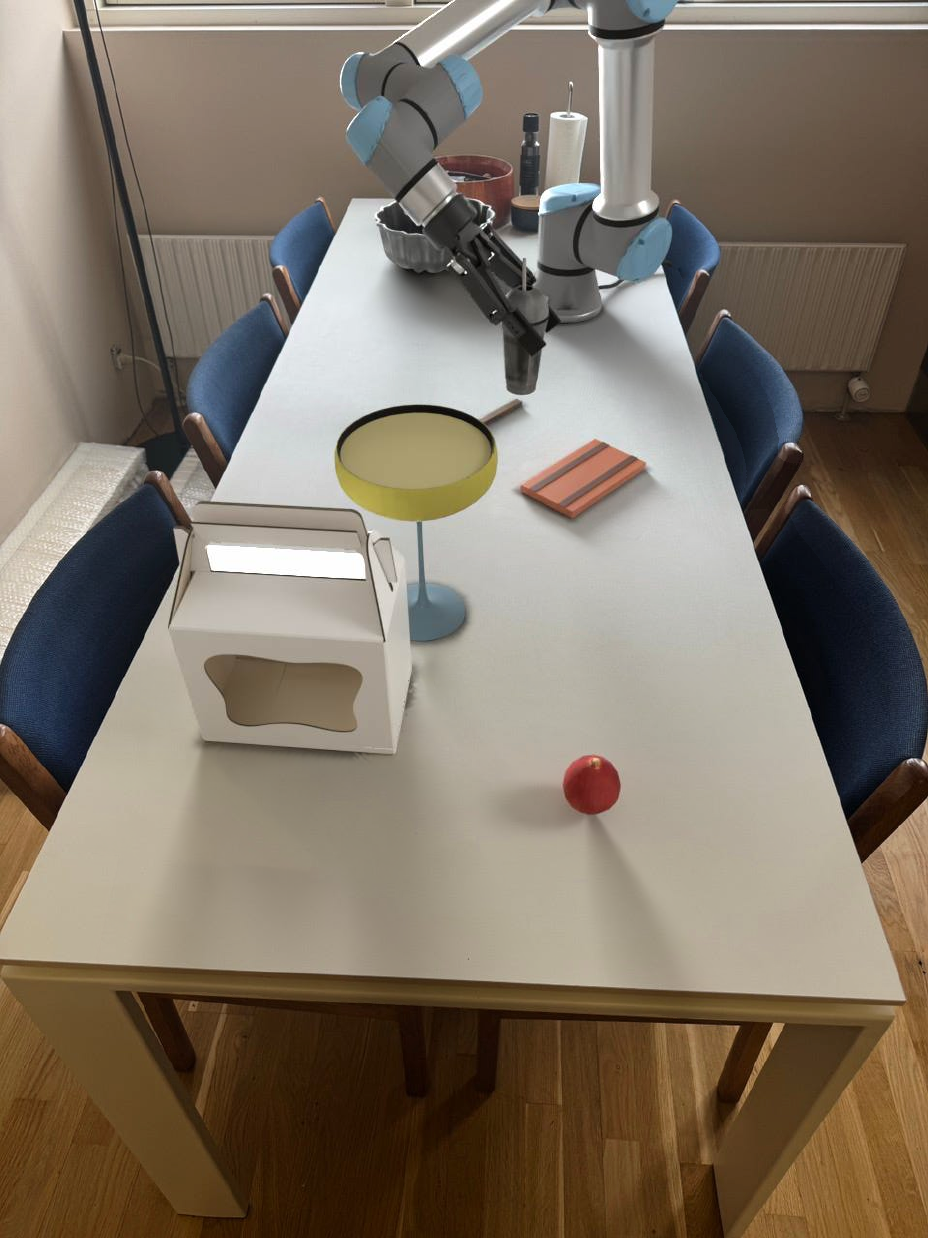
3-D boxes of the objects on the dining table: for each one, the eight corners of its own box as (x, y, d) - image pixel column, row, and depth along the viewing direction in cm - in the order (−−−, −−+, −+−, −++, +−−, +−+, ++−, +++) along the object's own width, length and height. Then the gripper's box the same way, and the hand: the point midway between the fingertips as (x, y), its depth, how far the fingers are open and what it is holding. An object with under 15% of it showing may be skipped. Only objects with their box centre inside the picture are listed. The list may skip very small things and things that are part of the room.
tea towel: (594, 445, 145) (595, 438, 144) (645, 468, 140) (646, 461, 139) (520, 491, 136) (520, 484, 135) (572, 518, 130) (572, 511, 130)
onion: (556, 786, 96) (561, 737, 90) (609, 782, 96) (618, 733, 90) (565, 832, 91) (571, 784, 86) (621, 828, 92) (630, 780, 86)
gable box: (200, 741, 100) (137, 542, 81) (233, 657, 110) (184, 462, 91) (397, 756, 99) (380, 556, 80) (414, 669, 108) (402, 473, 89)
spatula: (507, 398, 156) (507, 394, 156) (531, 409, 153) (531, 405, 153) (420, 445, 145) (420, 441, 145) (444, 458, 142) (444, 453, 142)
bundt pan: (353, 258, 203) (349, 212, 196) (440, 229, 216) (439, 185, 209) (430, 293, 189) (429, 245, 182) (518, 260, 202) (520, 214, 195)
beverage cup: (550, 380, 139) (559, 249, 125) (537, 402, 134) (545, 268, 120) (505, 373, 140) (509, 242, 127) (491, 395, 135) (493, 261, 122)
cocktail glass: (402, 552, 125) (392, 388, 108) (518, 595, 118) (526, 427, 101) (324, 630, 113) (299, 461, 96) (448, 682, 107) (444, 510, 90)
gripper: (447, 203, 133) (546, 324, 140) (394, 253, 119) (508, 384, 126) (481, 168, 128) (582, 295, 135) (431, 215, 114) (546, 354, 121)
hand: (546, 338), depth 130 cm, fingers closed on beverage cup, 7 cm apart
